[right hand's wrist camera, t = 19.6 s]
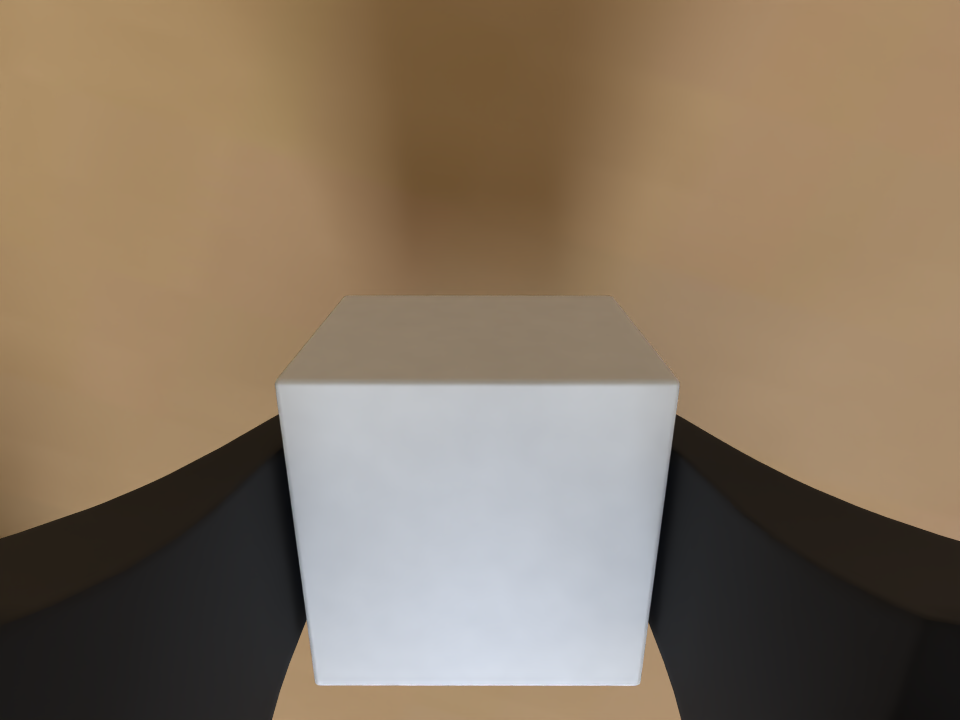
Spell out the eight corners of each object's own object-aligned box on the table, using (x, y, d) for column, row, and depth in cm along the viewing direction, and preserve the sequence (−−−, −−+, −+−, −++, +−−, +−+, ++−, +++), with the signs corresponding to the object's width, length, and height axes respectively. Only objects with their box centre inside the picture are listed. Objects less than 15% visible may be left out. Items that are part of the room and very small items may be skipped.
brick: (613, 294, 11) (683, 381, 7) (594, 523, 13) (641, 687, 9) (343, 294, 11) (272, 380, 7) (362, 523, 13) (314, 687, 9)
